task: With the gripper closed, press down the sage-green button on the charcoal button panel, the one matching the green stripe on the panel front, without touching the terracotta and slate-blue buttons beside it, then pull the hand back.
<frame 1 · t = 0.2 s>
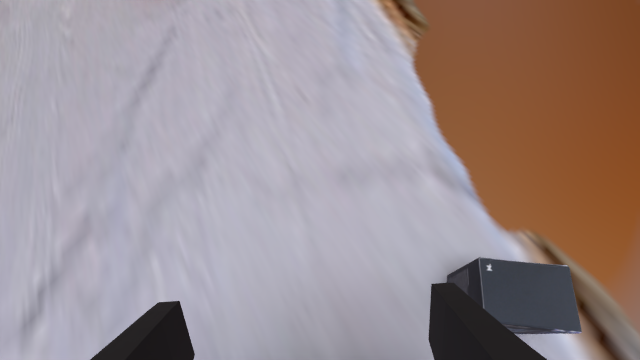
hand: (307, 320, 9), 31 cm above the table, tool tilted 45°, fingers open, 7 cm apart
box: (481, 304, 37), on the table
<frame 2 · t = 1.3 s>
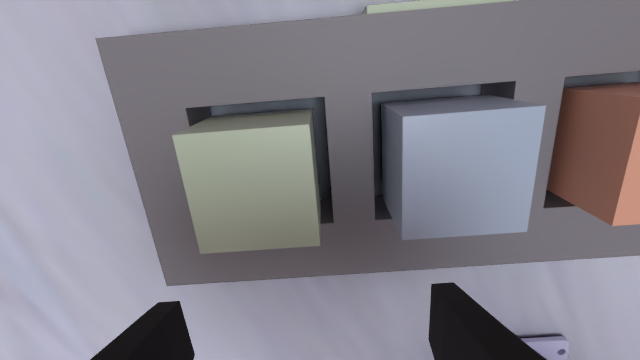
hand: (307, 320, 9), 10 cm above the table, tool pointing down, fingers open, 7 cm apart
sage button: (260, 175, 14), point 4 cm above the table, slide at 0.0 cm
button panel: (420, 140, 17), on the table
slate button: (447, 161, 14), point 4 cm above the table, slide at 0.0 cm
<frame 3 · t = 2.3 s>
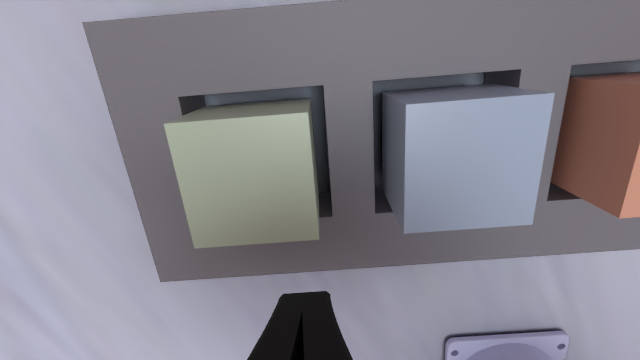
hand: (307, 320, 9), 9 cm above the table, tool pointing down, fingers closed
sage button: (257, 167, 13), point 4 cm above the table, slide at 0.0 cm
button panel: (421, 132, 17), on the table
slate button: (450, 152, 13), point 4 cm above the table, slide at 0.0 cm
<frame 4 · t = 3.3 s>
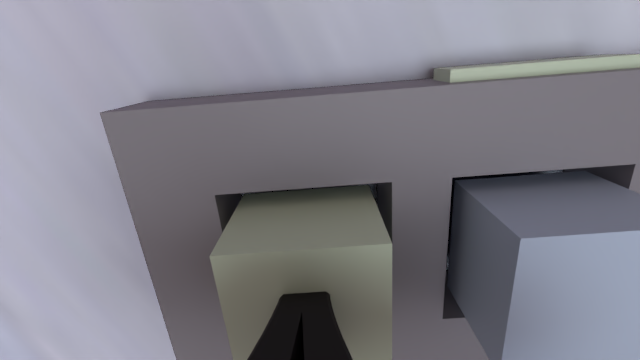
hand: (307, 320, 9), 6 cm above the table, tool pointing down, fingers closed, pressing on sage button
sage button: (310, 276, 11), point 4 cm above the table, slide at 0.2 cm, touching gripper
button panel: (489, 212, 15), on the table
slate button: (546, 263, 11), point 4 cm above the table, slide at 0.0 cm
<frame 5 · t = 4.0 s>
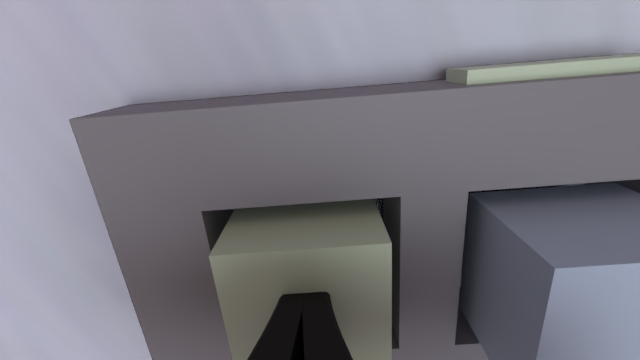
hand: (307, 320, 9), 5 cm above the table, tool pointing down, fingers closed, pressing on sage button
sage button: (309, 275, 11), point 2 cm above the table, slide at 1.4 cm, touching gripper
button panel: (503, 225, 13), on the table
slate button: (573, 287, 10), point 4 cm above the table, slide at 0.0 cm
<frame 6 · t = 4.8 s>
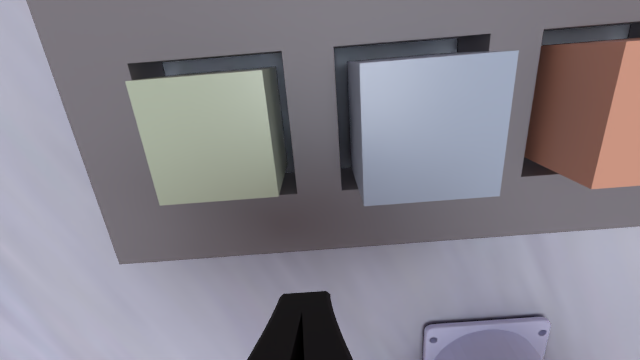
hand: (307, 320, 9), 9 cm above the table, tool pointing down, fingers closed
sage button: (222, 130, 14), point 2 cm above the table, slide at 1.4 cm
terracotta button: (624, 106, 12), point 4 cm above the table, slide at 0.0 cm
button panel: (393, 107, 16), on the table
slate button: (416, 122, 13), point 4 cm above the table, slide at 0.0 cm
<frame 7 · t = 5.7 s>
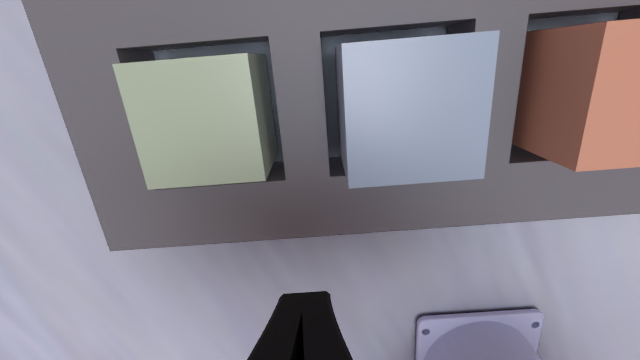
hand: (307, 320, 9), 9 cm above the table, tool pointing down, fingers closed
sage button: (211, 117, 14), point 2 cm above the table, slide at 1.4 cm
terracotta button: (610, 90, 12), point 4 cm above the table, slide at 0.0 cm
button panel: (383, 96, 16), on the table
slate button: (402, 107, 13), point 4 cm above the table, slide at 0.0 cm
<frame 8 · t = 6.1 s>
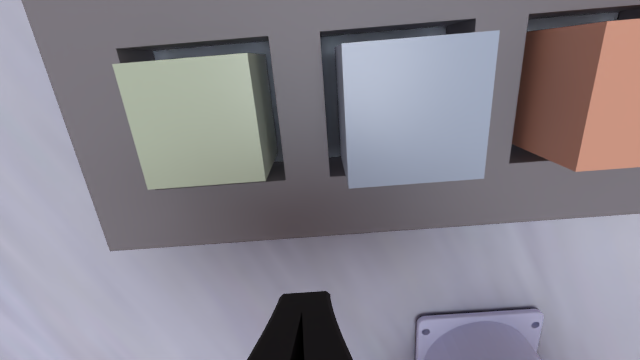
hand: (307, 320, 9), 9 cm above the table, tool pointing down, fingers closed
sage button: (211, 117, 14), point 2 cm above the table, slide at 1.4 cm
terracotta button: (610, 90, 12), point 4 cm above the table, slide at 0.0 cm
button panel: (383, 96, 16), on the table
slate button: (402, 107, 13), point 4 cm above the table, slide at 0.0 cm
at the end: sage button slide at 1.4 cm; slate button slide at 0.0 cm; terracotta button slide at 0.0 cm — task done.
